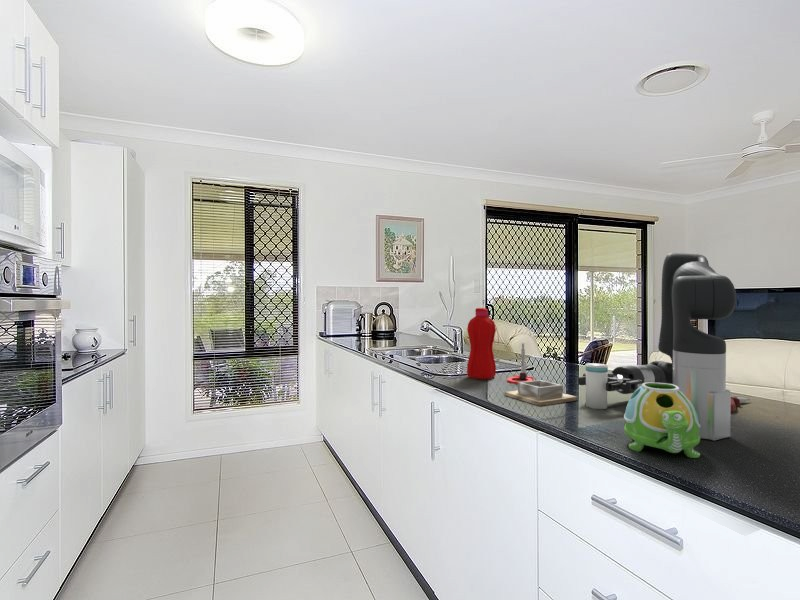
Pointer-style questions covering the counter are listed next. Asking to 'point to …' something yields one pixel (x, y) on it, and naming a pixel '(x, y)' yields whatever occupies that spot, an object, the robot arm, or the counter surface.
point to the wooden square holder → (540, 393)
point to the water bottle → (481, 346)
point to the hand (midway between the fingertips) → (592, 384)
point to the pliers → (737, 402)
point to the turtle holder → (662, 419)
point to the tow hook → (523, 371)
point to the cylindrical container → (596, 385)
